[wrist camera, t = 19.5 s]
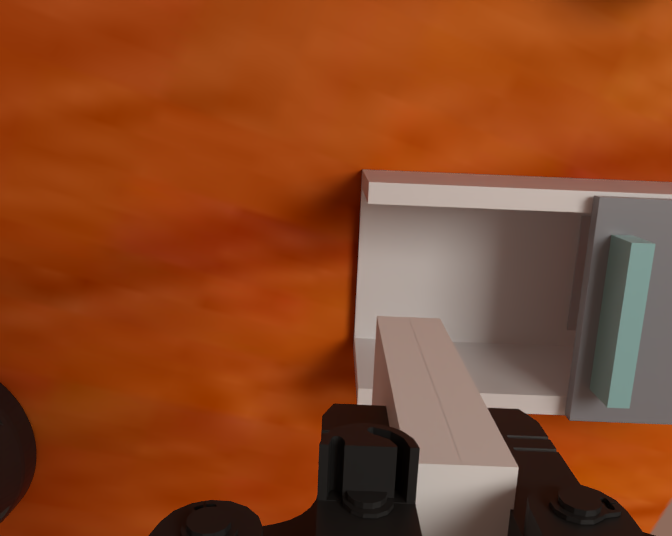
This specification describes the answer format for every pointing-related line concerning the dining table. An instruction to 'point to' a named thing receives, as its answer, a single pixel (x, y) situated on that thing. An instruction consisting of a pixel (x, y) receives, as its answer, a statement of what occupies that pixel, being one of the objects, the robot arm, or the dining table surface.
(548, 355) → the housing
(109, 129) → the dining table surface
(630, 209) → the lid
